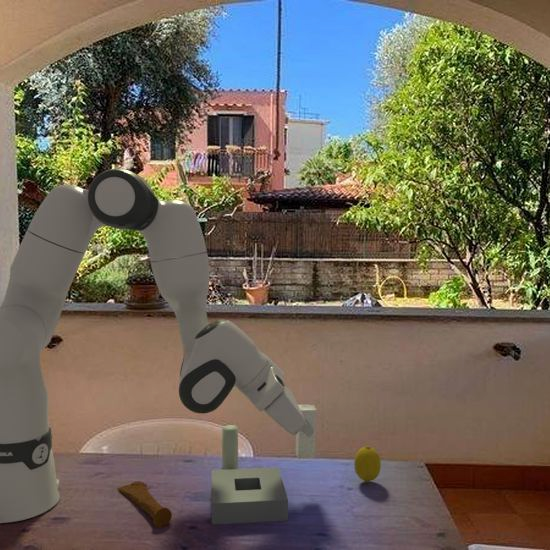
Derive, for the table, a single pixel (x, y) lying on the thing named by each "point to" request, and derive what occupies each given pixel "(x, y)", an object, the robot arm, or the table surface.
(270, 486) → the socket block
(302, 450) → the square bit
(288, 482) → the table surface
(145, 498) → the primitive tool
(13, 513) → the robot arm
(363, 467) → the lemon
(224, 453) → the round bit
